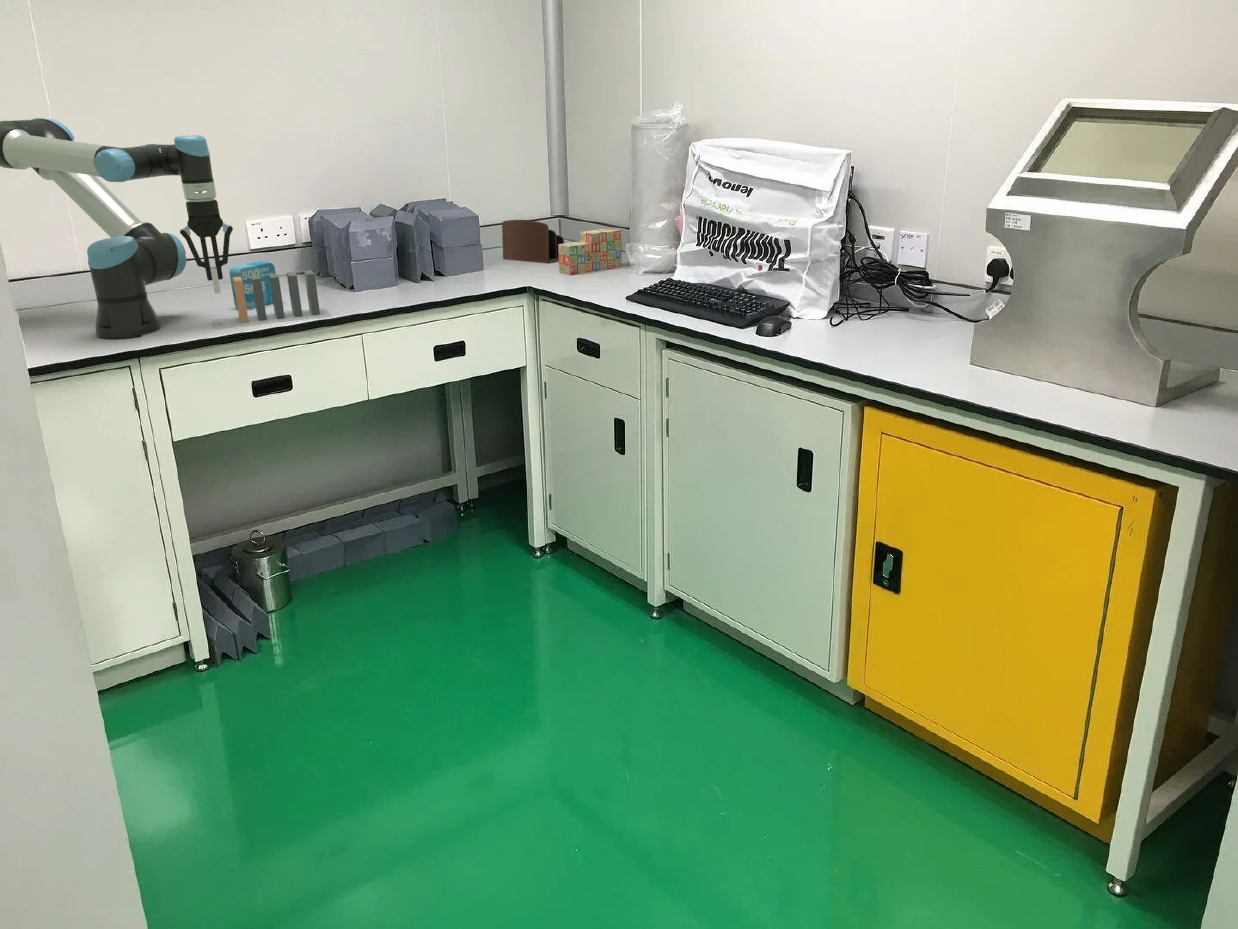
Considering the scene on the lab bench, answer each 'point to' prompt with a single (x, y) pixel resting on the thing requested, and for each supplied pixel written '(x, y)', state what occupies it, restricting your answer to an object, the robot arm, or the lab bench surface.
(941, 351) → the lab bench surface
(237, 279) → the domino
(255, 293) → the domino
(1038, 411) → the lab bench surface
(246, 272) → the data package
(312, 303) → the domino
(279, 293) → the domino
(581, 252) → the stack of blocks
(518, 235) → the letter holder
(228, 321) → the mat
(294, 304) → the domino
